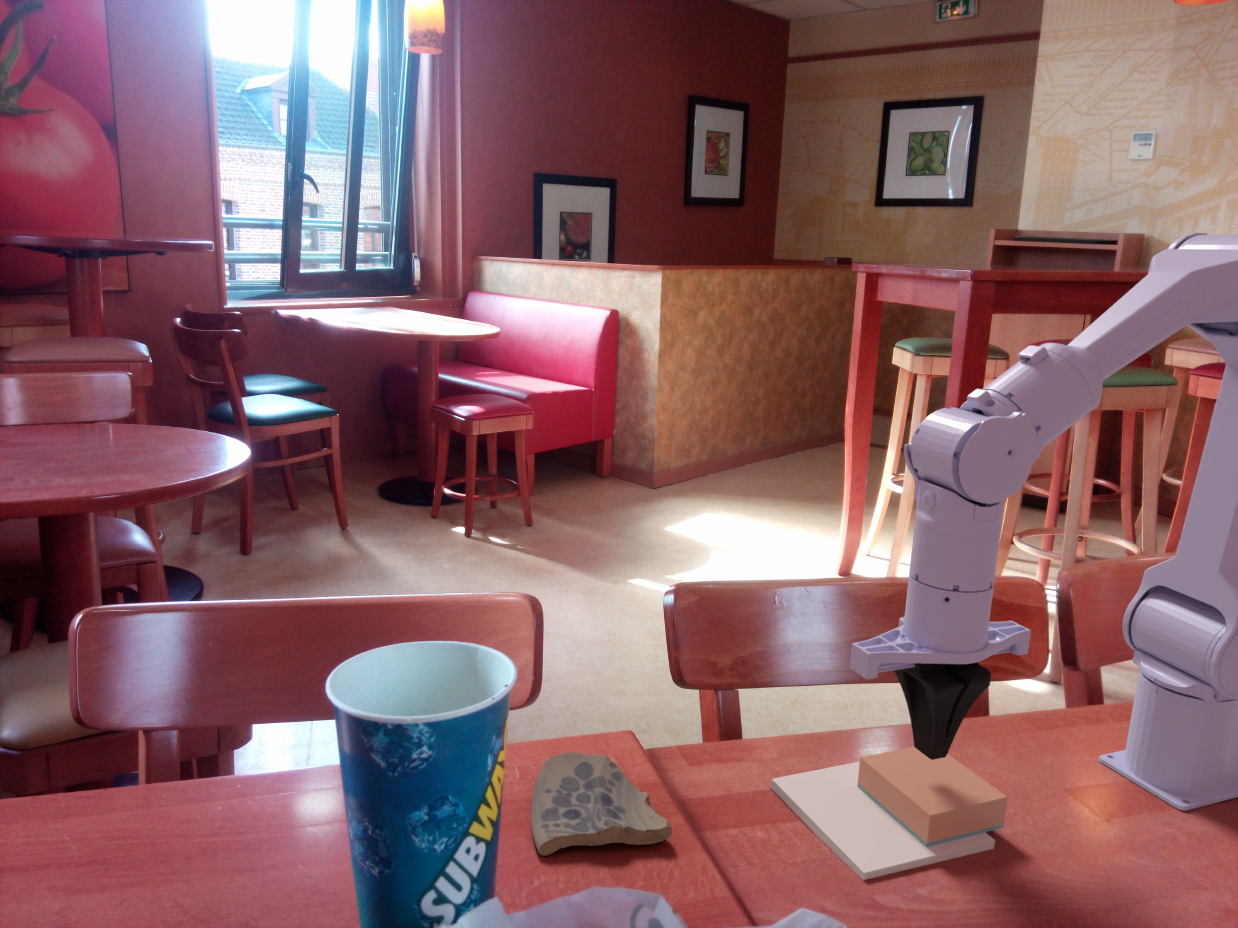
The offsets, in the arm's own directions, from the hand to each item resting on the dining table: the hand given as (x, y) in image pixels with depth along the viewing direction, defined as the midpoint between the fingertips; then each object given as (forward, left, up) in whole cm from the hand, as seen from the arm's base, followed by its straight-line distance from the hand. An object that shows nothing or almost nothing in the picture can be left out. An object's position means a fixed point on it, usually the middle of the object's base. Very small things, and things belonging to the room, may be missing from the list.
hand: (929, 751), depth 69 cm
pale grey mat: (+3, -1, -5) cm, 6 cm away
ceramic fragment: (+18, -6, -5) cm, 20 cm away
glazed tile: (-4, 0, -3) cm, 5 cm away
